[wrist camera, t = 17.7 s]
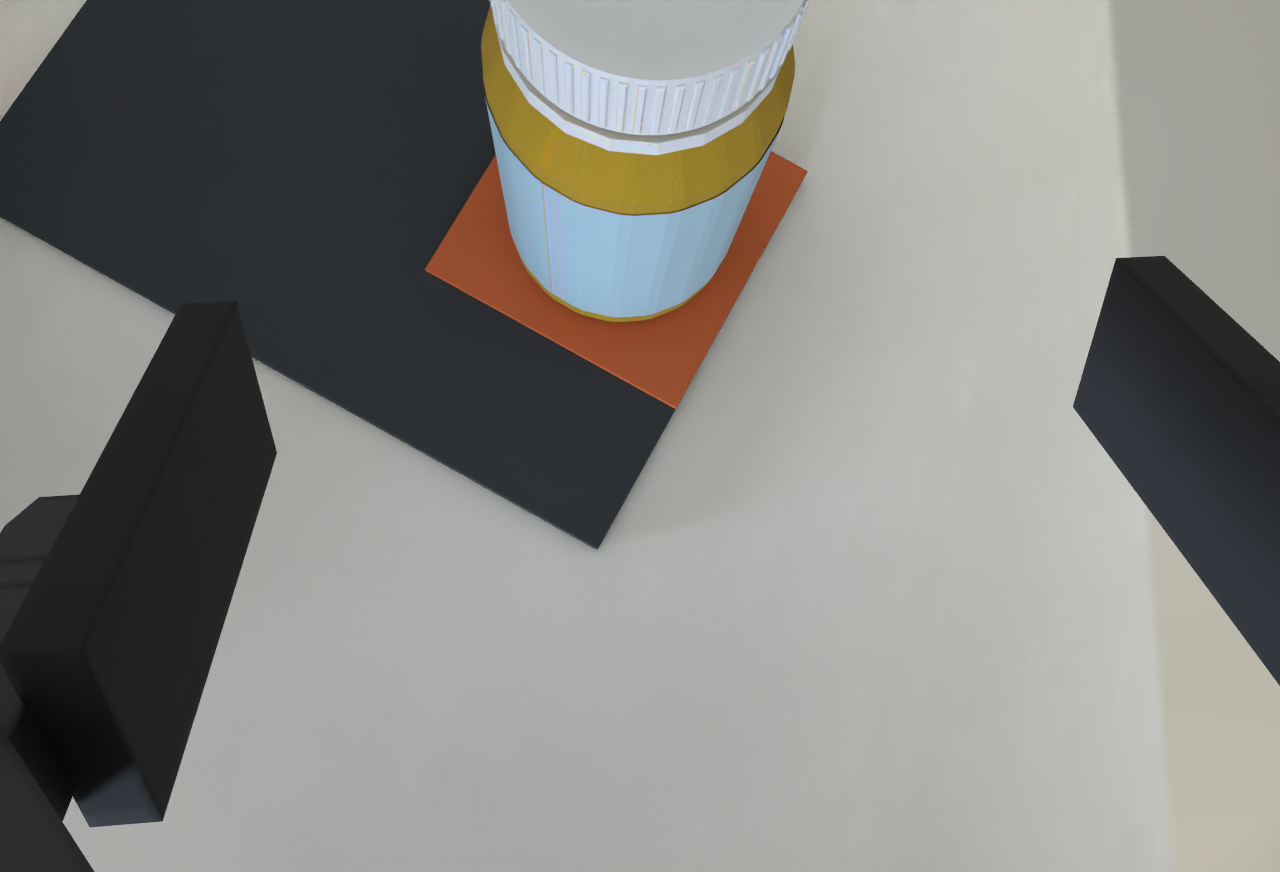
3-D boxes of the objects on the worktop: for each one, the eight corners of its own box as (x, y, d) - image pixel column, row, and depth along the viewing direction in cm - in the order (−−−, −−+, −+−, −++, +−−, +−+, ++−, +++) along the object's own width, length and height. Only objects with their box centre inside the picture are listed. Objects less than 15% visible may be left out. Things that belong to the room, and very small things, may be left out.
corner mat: (-42, 193, 33) (-53, 186, 32) (203, -150, 35) (196, -163, 35) (597, 550, 32) (597, 549, 32) (803, 178, 35) (807, 171, 34)
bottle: (658, 368, 33) (724, 178, 18) (468, 254, 33) (378, -26, 18) (768, 189, 34) (916, -128, 19) (584, 79, 34) (588, -318, 19)
